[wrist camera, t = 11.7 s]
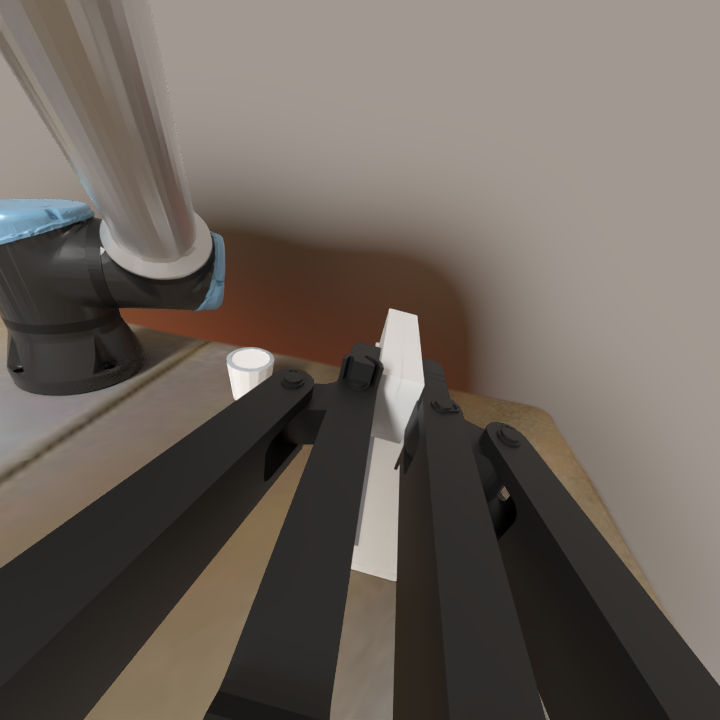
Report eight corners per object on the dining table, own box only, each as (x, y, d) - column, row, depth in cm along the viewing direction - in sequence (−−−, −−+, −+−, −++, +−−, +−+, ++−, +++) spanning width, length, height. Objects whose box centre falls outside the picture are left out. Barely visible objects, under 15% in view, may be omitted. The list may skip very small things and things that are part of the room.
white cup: (235, 412, 42) (234, 375, 39) (223, 386, 46) (220, 350, 43) (279, 400, 46) (281, 365, 43) (264, 377, 50) (264, 343, 47)
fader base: (395, 581, 28) (399, 574, 27) (298, 554, 28) (300, 546, 27) (402, 411, 50) (404, 404, 49) (348, 397, 50) (349, 390, 49)
